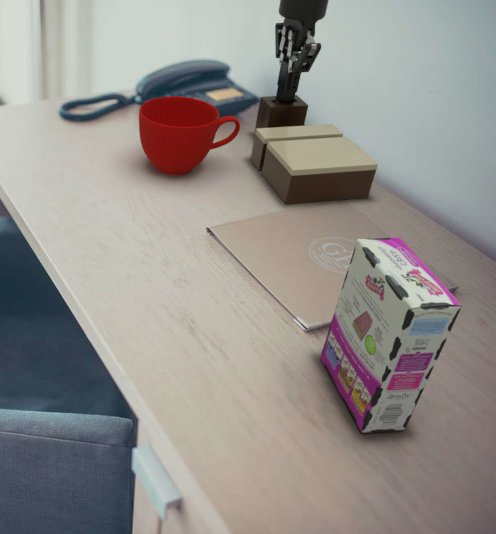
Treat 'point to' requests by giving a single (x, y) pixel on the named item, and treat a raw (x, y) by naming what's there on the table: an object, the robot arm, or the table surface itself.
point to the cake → (318, 170)
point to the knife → (281, 95)
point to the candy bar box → (387, 333)
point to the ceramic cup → (180, 132)
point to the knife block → (280, 113)
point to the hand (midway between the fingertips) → (286, 89)
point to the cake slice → (288, 137)
